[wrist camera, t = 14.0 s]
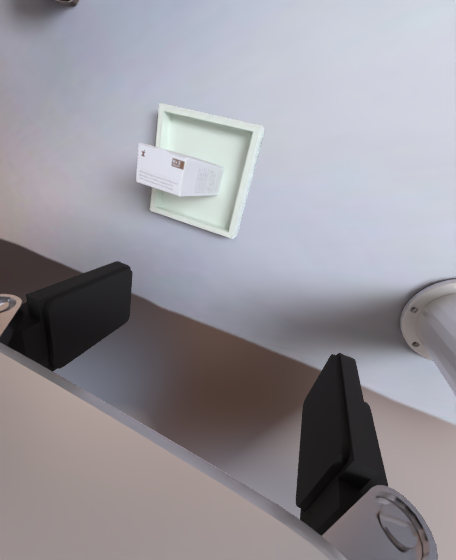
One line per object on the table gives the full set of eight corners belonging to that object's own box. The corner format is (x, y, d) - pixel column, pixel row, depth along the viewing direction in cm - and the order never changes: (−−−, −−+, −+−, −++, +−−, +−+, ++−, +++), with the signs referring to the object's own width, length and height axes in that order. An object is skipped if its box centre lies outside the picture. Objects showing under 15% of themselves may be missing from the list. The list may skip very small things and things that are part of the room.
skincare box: (185, 185, 38) (132, 184, 27) (190, 154, 36) (135, 140, 25) (219, 196, 36) (178, 200, 26) (227, 165, 34) (185, 156, 24)
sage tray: (264, 129, 32) (260, 125, 29) (237, 235, 38) (232, 238, 36) (169, 108, 35) (159, 102, 33) (158, 209, 41) (149, 210, 39)
